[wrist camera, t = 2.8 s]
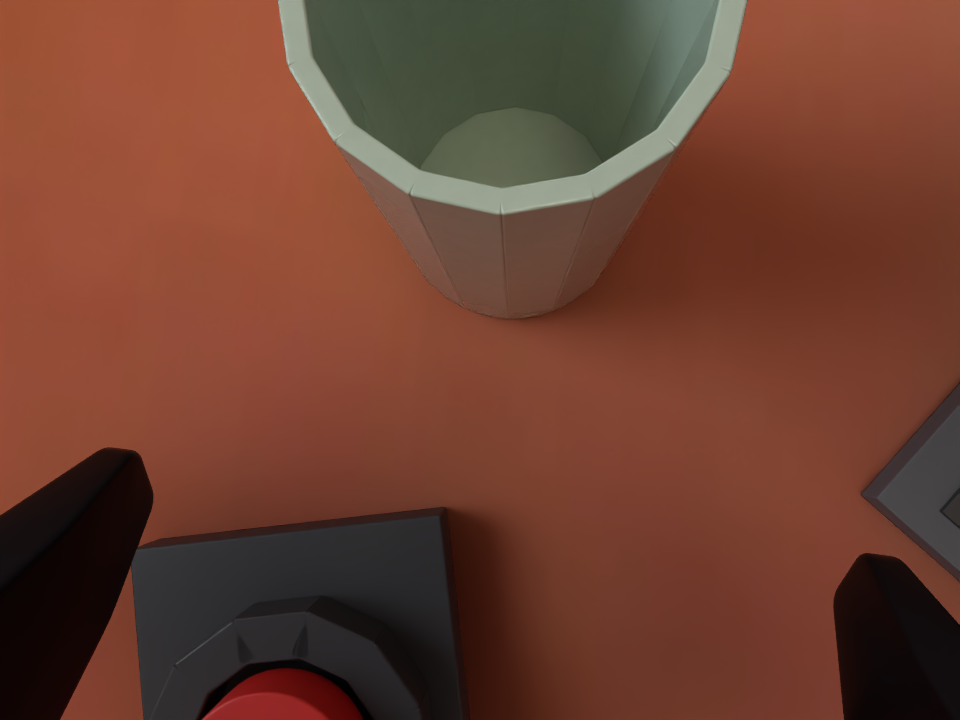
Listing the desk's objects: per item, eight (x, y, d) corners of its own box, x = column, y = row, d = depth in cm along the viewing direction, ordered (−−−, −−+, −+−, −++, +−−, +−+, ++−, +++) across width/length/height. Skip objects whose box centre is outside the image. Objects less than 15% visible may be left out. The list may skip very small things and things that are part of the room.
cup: (477, 360, 23) (431, 300, 11) (364, 178, 24) (194, -84, 11) (664, 244, 23) (842, 46, 10) (547, 64, 24) (583, -327, 11)
